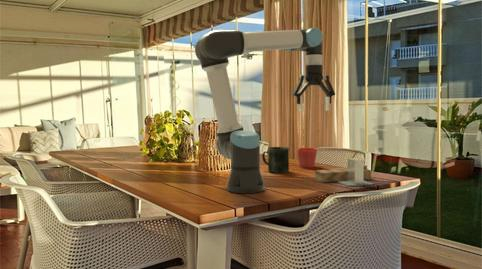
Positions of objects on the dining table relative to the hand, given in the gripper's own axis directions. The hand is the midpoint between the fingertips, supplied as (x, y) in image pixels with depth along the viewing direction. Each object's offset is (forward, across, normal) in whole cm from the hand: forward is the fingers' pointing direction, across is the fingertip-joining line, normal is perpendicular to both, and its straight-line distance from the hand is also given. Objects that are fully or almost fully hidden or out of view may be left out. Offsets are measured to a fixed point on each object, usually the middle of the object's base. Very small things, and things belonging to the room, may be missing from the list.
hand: (313, 111), depth 190 cm
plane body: (+31, -10, +10) cm, 34 cm away
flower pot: (+31, -9, -29) cm, 43 cm away
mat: (+31, -10, +20) cm, 38 cm away
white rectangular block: (+30, -10, +20) cm, 38 cm away
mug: (+31, +12, -20) cm, 39 cm away
